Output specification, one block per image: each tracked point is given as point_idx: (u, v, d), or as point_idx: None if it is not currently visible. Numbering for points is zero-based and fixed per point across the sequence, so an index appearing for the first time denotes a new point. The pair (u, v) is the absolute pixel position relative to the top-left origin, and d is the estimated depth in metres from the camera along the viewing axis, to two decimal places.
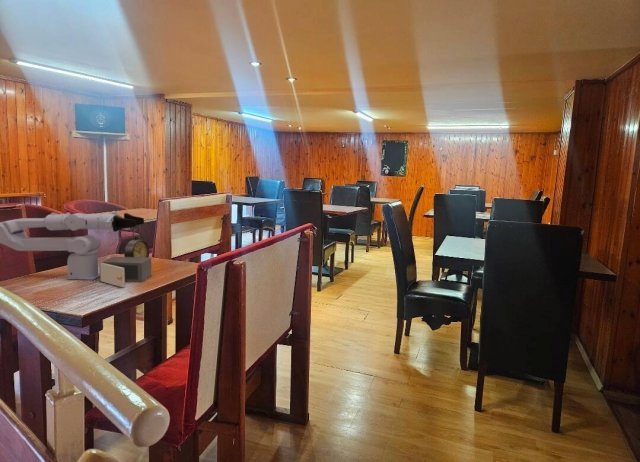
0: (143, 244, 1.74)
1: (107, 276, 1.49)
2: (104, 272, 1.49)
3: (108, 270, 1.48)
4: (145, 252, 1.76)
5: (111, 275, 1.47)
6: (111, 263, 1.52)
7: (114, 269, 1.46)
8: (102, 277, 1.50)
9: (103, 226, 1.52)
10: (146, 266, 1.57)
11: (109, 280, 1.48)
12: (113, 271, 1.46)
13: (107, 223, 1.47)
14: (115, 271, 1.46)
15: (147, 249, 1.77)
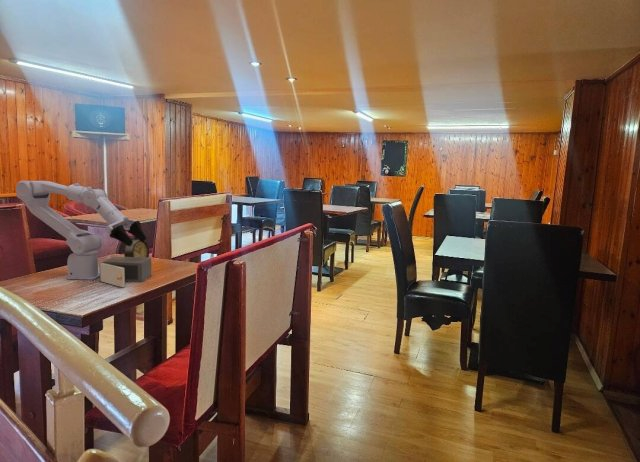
0: (143, 244, 1.74)
1: (107, 276, 1.49)
2: (104, 272, 1.49)
3: (108, 270, 1.48)
4: (145, 252, 1.76)
5: (111, 275, 1.47)
6: (111, 263, 1.52)
7: (114, 269, 1.46)
8: (102, 277, 1.50)
9: (108, 222, 1.50)
10: (146, 266, 1.57)
11: (109, 280, 1.48)
12: (113, 271, 1.46)
13: (108, 228, 1.45)
14: (115, 271, 1.46)
15: (147, 249, 1.77)
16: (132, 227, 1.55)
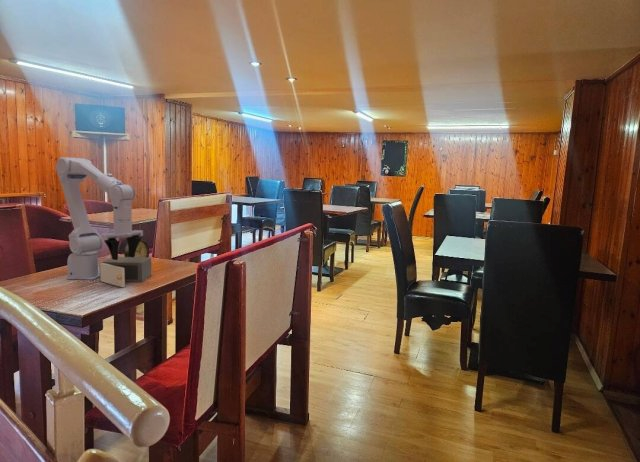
0: (143, 244, 1.74)
1: (107, 276, 1.49)
2: (104, 272, 1.49)
3: (108, 270, 1.48)
4: (145, 252, 1.76)
5: (111, 275, 1.47)
6: (111, 263, 1.52)
7: (114, 269, 1.46)
8: (102, 277, 1.50)
9: None
10: (146, 266, 1.57)
11: (109, 280, 1.48)
12: (113, 271, 1.46)
13: (103, 236, 1.41)
14: (115, 271, 1.46)
15: (147, 249, 1.77)
16: (131, 239, 1.50)
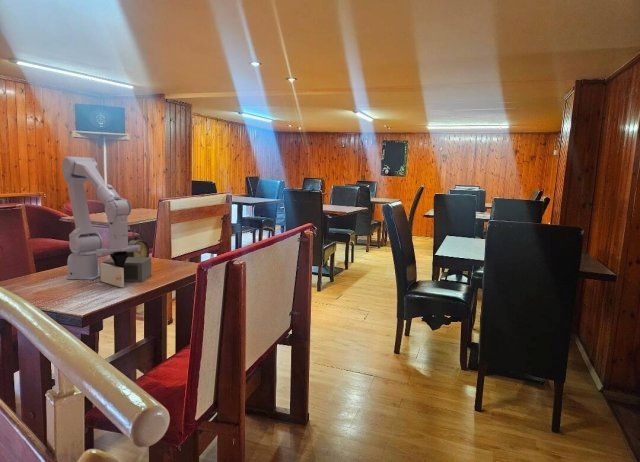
0: (143, 244, 1.74)
1: (107, 276, 1.48)
2: (104, 272, 1.49)
3: (108, 270, 1.48)
4: (145, 252, 1.76)
5: (111, 275, 1.47)
6: (111, 263, 1.52)
7: (113, 269, 1.46)
8: (102, 277, 1.50)
9: None
10: (146, 266, 1.57)
11: (109, 280, 1.48)
12: (113, 271, 1.46)
13: (97, 252, 1.40)
14: (114, 271, 1.46)
15: (147, 249, 1.77)
16: None
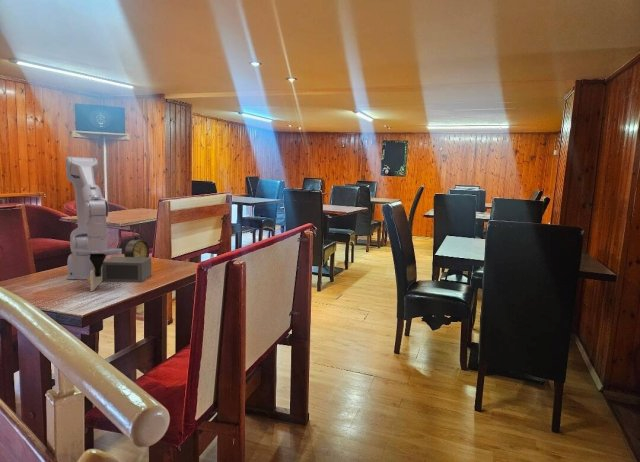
0: (143, 244, 1.74)
1: None
2: None
3: None
4: (145, 252, 1.76)
5: None
6: (111, 263, 1.52)
7: None
8: None
9: None
10: (146, 266, 1.57)
11: None
12: None
13: None
14: None
15: (147, 249, 1.77)
16: None
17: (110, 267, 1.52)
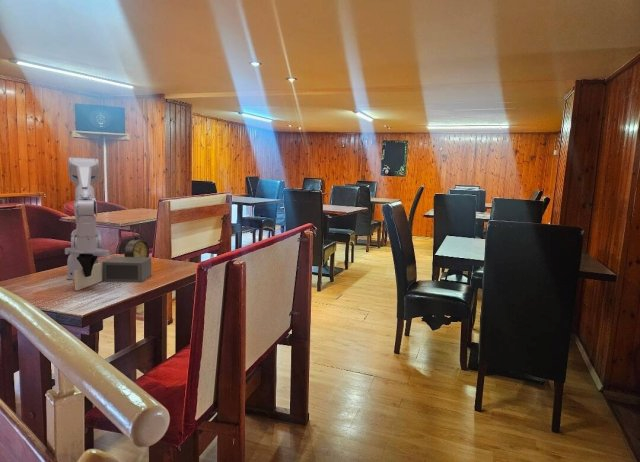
0: (143, 244, 1.74)
1: None
2: None
3: None
4: (145, 252, 1.76)
5: None
6: (111, 263, 1.52)
7: None
8: None
9: None
10: (146, 266, 1.57)
11: None
12: None
13: None
14: None
15: (147, 249, 1.77)
16: None
17: (110, 267, 1.52)
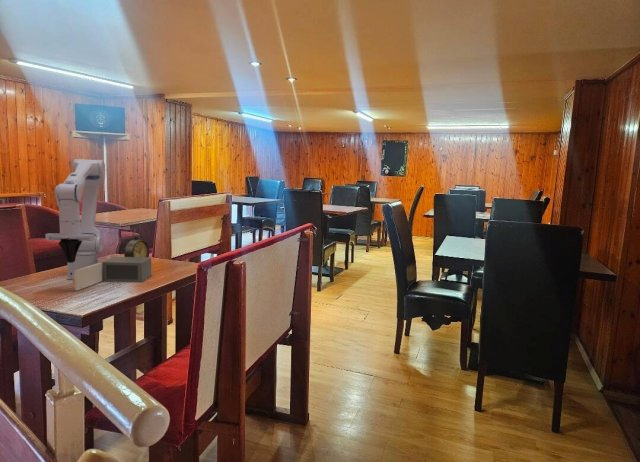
0: (143, 244, 1.74)
1: None
2: None
3: None
4: (145, 252, 1.76)
5: None
6: (111, 263, 1.52)
7: None
8: None
9: None
10: (146, 266, 1.57)
11: None
12: None
13: None
14: None
15: (147, 249, 1.77)
16: None
17: (110, 267, 1.52)
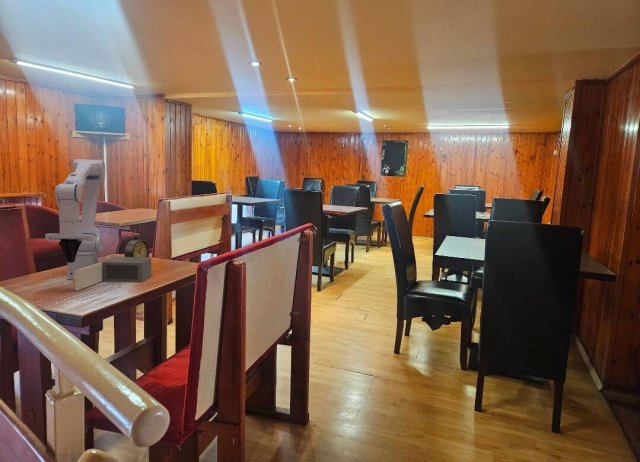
0: (143, 244, 1.74)
1: None
2: None
3: None
4: (145, 252, 1.76)
5: None
6: (111, 263, 1.52)
7: None
8: None
9: None
10: (146, 266, 1.57)
11: None
12: None
13: None
14: None
15: (147, 249, 1.77)
16: None
17: (110, 267, 1.52)
